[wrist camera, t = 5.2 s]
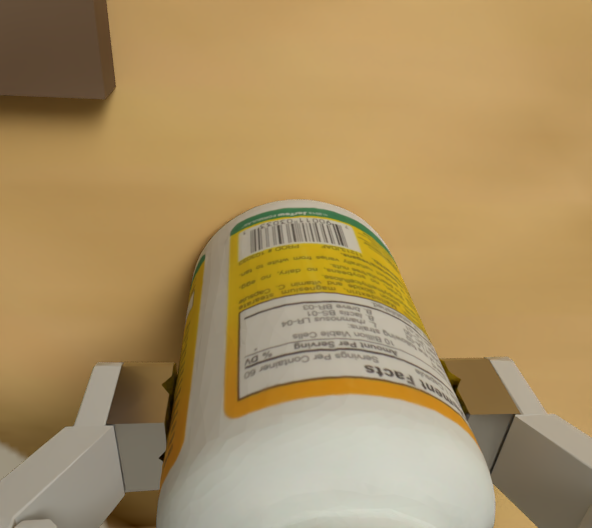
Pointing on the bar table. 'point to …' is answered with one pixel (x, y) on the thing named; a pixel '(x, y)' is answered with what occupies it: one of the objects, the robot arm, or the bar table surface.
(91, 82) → the holder stand
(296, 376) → the supplement bottle
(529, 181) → the bar table surface
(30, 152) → the bar table surface
